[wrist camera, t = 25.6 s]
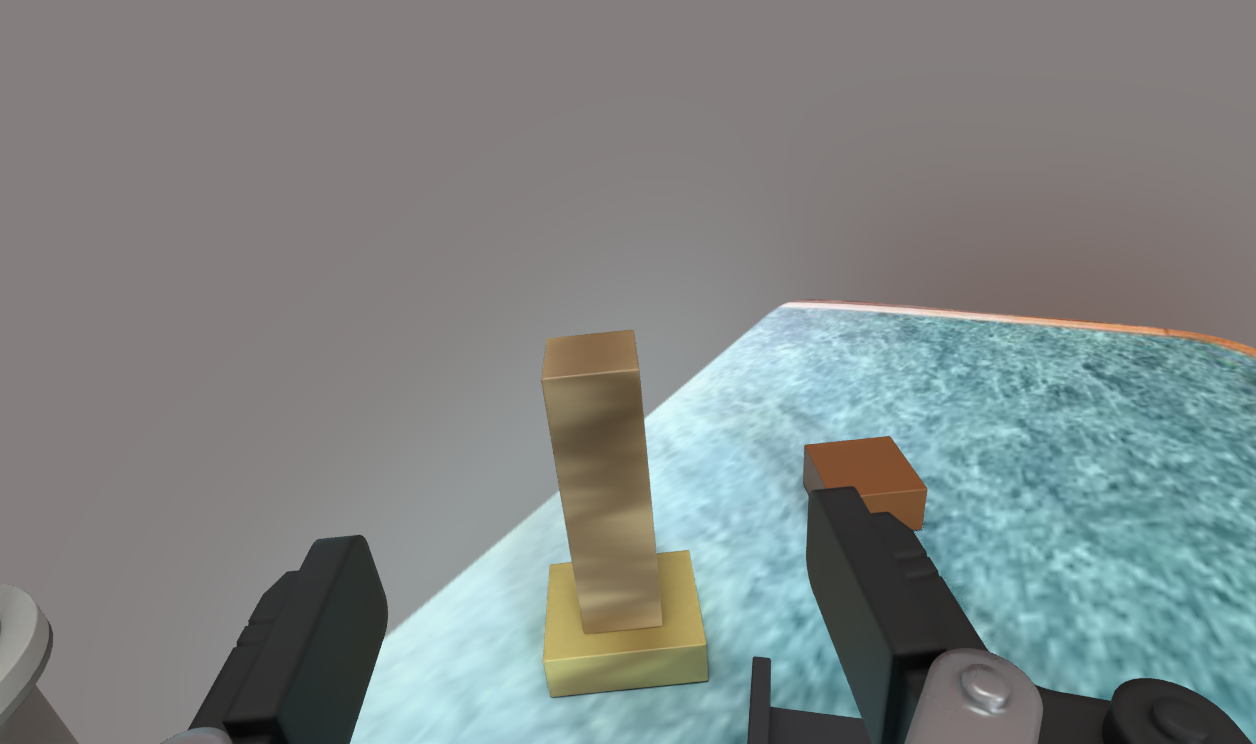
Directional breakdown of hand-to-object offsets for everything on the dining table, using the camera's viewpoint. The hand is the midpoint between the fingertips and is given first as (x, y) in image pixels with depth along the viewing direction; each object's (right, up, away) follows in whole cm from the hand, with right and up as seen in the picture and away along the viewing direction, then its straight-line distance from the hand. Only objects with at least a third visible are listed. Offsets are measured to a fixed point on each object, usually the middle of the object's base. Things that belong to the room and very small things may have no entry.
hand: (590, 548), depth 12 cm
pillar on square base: (+1, -8, +16) cm, 17 cm away
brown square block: (+12, -3, +22) cm, 25 cm away
